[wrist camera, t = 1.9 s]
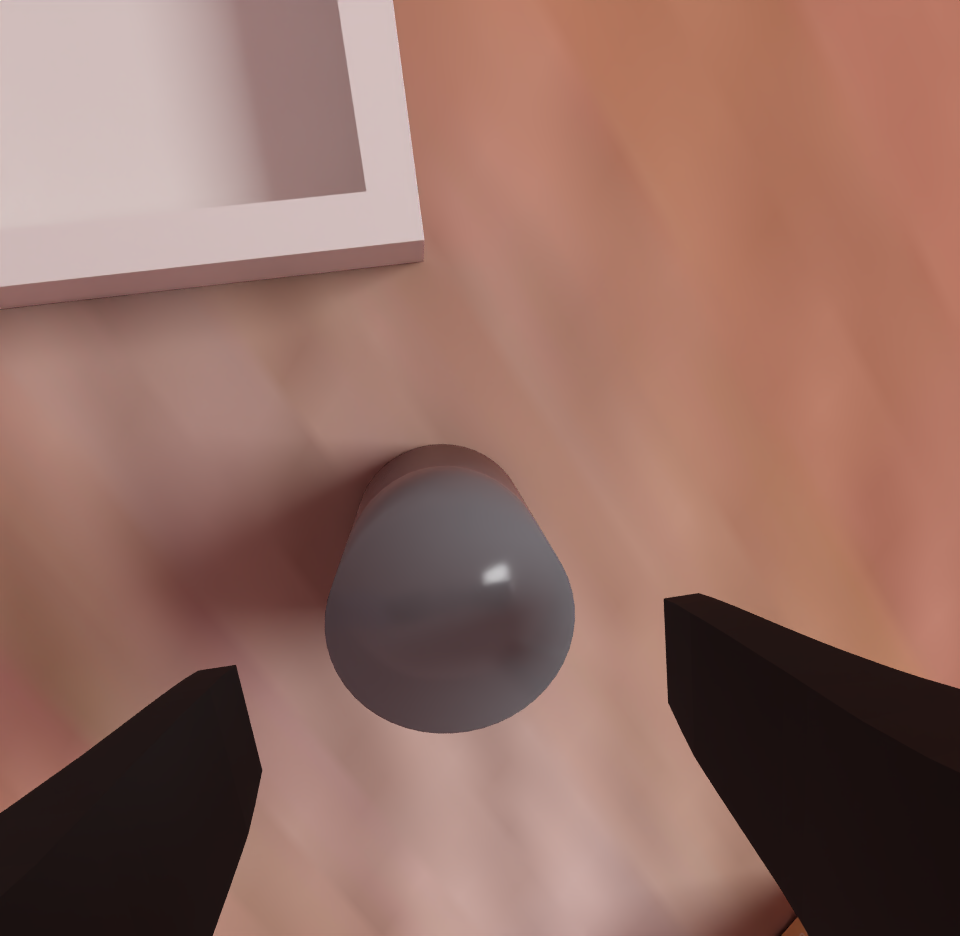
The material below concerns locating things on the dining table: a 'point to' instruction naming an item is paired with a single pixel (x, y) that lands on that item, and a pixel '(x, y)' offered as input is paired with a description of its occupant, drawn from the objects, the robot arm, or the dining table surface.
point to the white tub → (199, 145)
